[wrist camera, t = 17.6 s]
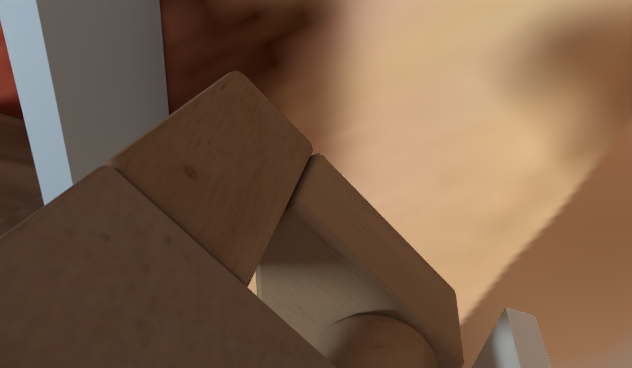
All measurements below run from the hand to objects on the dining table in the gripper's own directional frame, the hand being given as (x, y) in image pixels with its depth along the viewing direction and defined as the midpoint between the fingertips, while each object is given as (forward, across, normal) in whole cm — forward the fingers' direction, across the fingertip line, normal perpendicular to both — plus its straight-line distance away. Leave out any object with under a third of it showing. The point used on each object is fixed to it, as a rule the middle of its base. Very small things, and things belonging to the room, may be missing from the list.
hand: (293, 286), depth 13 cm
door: (+15, -12, 0) cm, 19 cm away
